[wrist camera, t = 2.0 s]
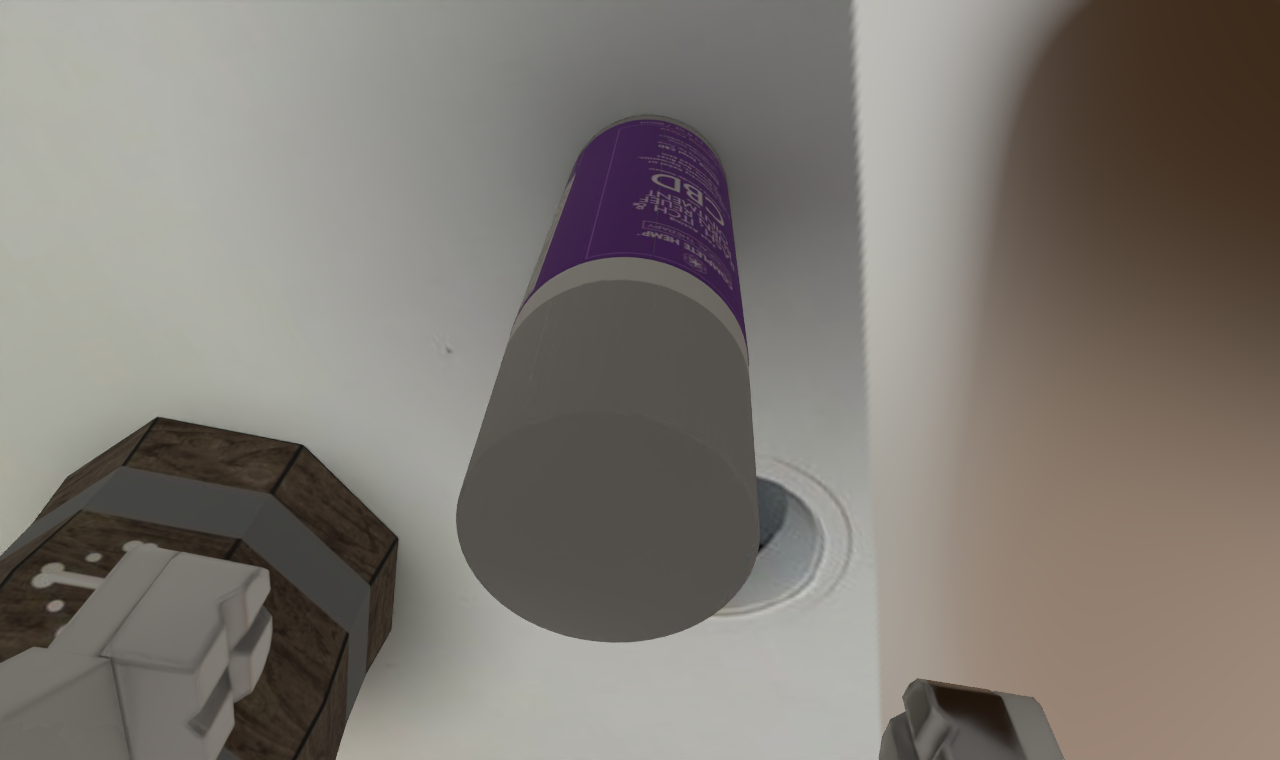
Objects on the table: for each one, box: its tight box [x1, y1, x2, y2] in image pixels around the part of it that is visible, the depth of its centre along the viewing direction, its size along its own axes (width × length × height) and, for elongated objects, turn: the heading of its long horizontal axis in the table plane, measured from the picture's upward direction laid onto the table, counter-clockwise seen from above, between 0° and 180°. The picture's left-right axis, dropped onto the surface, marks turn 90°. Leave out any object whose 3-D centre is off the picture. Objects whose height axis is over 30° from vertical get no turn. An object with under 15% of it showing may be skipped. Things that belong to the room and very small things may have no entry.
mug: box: [0, 418, 398, 760], centre depth 28 cm, size 20×14×15 cm
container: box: [456, 115, 760, 642], centre depth 19 cm, size 5×5×15 cm
